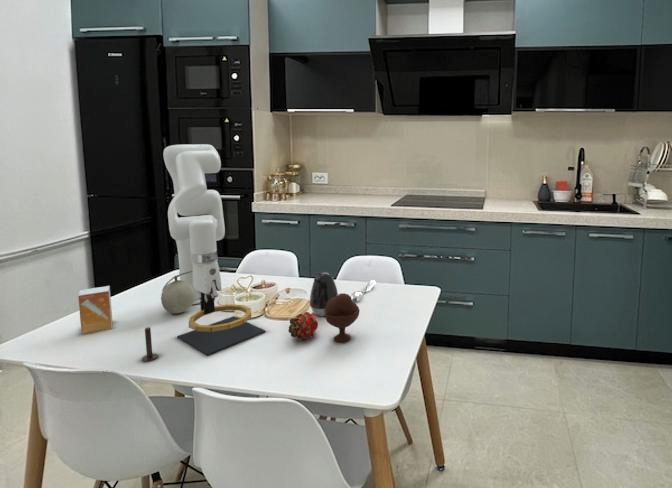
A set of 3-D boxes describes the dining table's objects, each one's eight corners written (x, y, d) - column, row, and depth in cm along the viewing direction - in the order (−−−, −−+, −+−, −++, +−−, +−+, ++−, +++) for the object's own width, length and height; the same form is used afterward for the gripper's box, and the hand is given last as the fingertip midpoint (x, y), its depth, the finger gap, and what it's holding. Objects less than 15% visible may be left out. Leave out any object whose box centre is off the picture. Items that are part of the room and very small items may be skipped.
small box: (81, 334, 139) (77, 295, 137) (83, 327, 144) (79, 289, 143) (112, 328, 143) (108, 290, 142) (113, 321, 148) (109, 285, 147)
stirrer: (368, 275, 184) (378, 276, 183) (368, 283, 185) (378, 284, 184) (348, 294, 165) (359, 295, 164) (348, 303, 166) (360, 304, 165)
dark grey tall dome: (303, 316, 152) (302, 274, 150) (321, 305, 162) (319, 266, 160) (328, 321, 148) (327, 278, 147) (344, 309, 158) (343, 269, 156)
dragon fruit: (293, 351, 131) (308, 339, 142) (316, 336, 130) (328, 324, 142) (278, 328, 131) (294, 317, 143) (300, 312, 131) (314, 302, 143)
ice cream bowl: (365, 333, 139) (364, 288, 137) (349, 350, 128) (347, 301, 126) (336, 329, 142) (335, 285, 140) (317, 344, 132) (316, 297, 130)
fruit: (153, 316, 153) (149, 275, 151) (181, 304, 163) (178, 266, 162) (175, 320, 149) (172, 278, 147) (202, 308, 160) (199, 269, 158)
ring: (232, 304, 150) (232, 300, 150) (262, 316, 139) (262, 312, 139) (178, 322, 136) (178, 317, 136) (207, 337, 125) (207, 332, 125)
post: (154, 353, 127) (152, 324, 126) (160, 357, 124) (158, 327, 123) (139, 359, 124) (136, 328, 123) (145, 363, 121) (142, 332, 120)
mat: (233, 317, 152) (233, 316, 151) (265, 332, 140) (265, 330, 140) (177, 337, 136) (176, 336, 136) (207, 356, 125) (207, 354, 125)
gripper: (228, 258, 139) (231, 314, 141) (203, 251, 148) (207, 303, 150) (204, 264, 133) (208, 321, 135) (181, 256, 142) (184, 310, 144)
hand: (207, 311), depth 142 cm, fingers closed on ring, 1 cm apart
